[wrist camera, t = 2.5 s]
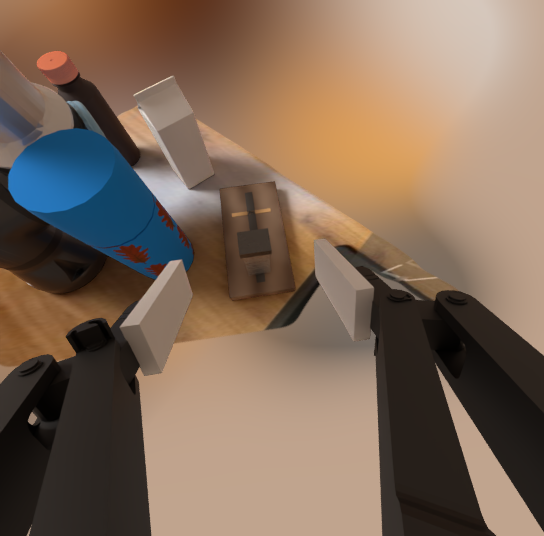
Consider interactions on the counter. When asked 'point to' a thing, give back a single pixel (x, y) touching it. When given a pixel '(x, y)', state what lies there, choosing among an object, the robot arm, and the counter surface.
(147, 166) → the counter surface
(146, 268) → the thermos
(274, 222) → the console
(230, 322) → the counter surface
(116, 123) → the bottle
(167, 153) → the milk carton
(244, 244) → the fader handle
